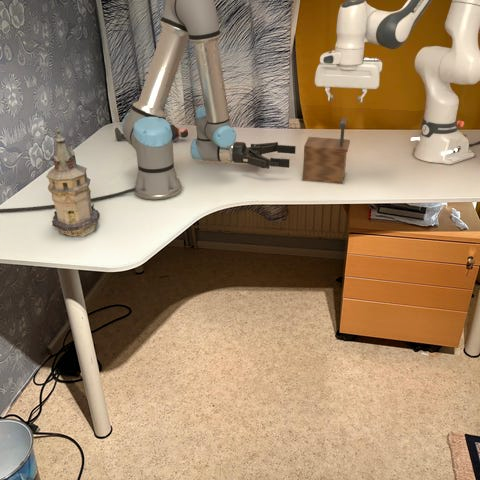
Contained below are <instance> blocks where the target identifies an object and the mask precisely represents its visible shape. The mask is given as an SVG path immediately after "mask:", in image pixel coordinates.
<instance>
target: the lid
mask: <svg viewBox="0 0 480 480" xmlns="http://www.w3.org/2000/svg"><path fill="white" fill-rule="evenodd" d="M347 122H348V118H347V117H342V118H341V119H340V123H339V128H340V137H339V138H334V137H333V138H332V137H319V136H308V137H307V139H306V142H305V144H304V146H303V147H304V148H303V150H304V149H313V150H326V151H339V152H347V153H348V152H349V147H350V144H351V139H346V138H345V129H346V127H347ZM344 138H345V139H344Z"/></svg>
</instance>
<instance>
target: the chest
mask: <svg viewBox="0 0 480 480" xmlns="http://www.w3.org/2000/svg"><path fill="white" fill-rule="evenodd" d="M347 153H348V152H339V151H326V150H313V149H304V148H303V165H302V181H306V182H307V181H308V182H317V183H318V182H319V183H327V184H328V183H329V184H339V185H342V184H343V182H344V180H345V179H344V178H345V174H346V163H347V155H348V154H347Z"/></svg>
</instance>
